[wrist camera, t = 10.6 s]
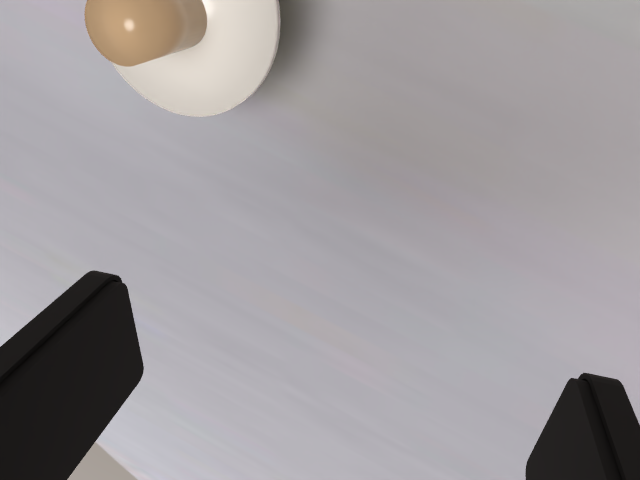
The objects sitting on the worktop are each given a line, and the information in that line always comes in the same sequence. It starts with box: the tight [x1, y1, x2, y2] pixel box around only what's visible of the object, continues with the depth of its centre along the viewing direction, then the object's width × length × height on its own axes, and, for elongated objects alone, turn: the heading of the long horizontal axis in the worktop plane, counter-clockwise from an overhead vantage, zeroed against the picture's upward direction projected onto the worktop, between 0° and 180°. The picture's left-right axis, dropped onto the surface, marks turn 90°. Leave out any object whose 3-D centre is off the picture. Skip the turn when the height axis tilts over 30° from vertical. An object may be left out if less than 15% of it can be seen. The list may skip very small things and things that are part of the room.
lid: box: [85, 0, 281, 117], centre depth 25 cm, size 12×12×7 cm
